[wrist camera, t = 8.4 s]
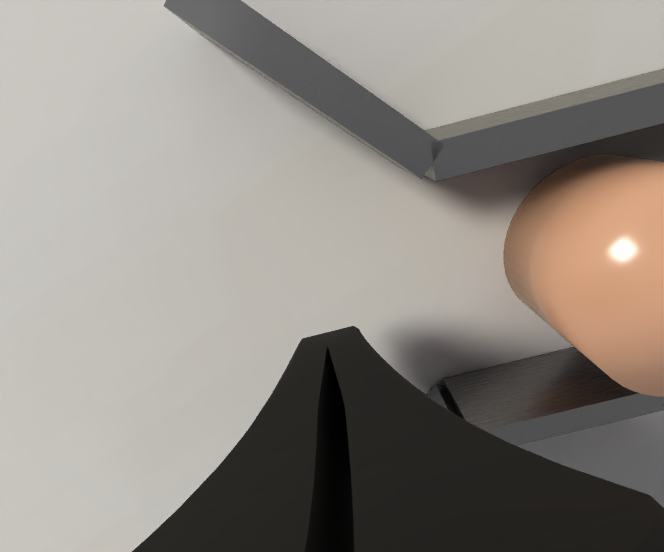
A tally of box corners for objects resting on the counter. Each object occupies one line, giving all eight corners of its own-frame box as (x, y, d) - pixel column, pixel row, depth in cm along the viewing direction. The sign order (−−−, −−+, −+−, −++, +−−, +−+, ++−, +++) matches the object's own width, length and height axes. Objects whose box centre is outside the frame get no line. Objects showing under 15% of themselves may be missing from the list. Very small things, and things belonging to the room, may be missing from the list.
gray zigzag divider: (695, 427, 15) (766, 483, 13) (348, 509, 16) (357, 578, 13) (762, -152, 9) (920, -242, 7) (188, 4, 9) (150, -32, 7)
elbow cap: (663, 295, 13) (805, 367, 9) (509, 333, 13) (590, 418, 10) (675, 134, 11) (856, 144, 8) (495, 180, 11) (588, 211, 8)
